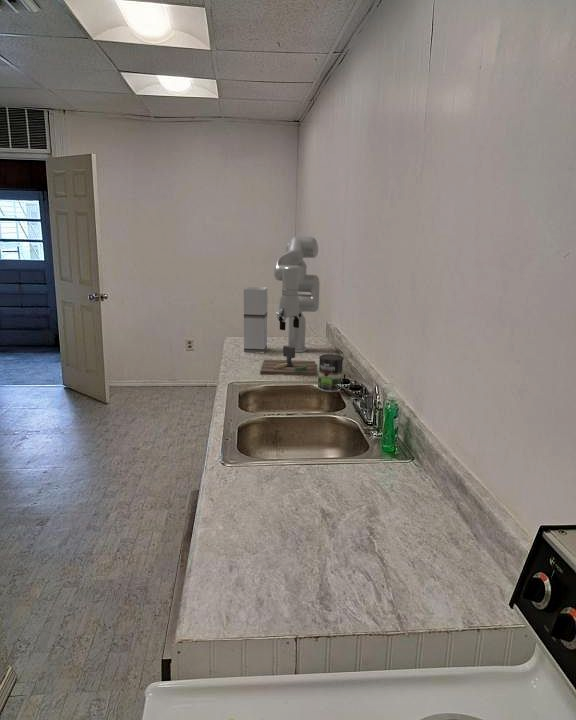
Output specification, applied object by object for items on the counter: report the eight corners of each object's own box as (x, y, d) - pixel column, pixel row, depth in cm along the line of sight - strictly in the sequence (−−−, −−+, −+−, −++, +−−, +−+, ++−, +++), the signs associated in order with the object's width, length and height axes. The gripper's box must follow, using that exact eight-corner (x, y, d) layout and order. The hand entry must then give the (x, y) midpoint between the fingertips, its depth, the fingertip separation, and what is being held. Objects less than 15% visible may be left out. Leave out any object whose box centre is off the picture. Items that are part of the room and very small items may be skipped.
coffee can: (336, 393, 214) (338, 361, 211) (314, 389, 219) (315, 357, 215) (345, 387, 223) (347, 356, 220) (324, 383, 228) (325, 353, 224)
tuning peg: (287, 363, 254) (287, 345, 252) (296, 365, 251) (296, 347, 248) (271, 367, 247) (271, 348, 244) (280, 369, 243) (281, 350, 240)
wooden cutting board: (264, 362, 263) (264, 357, 262) (314, 363, 262) (315, 358, 261) (260, 374, 241) (260, 368, 241) (315, 375, 240) (315, 369, 240)
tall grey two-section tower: (267, 348, 294) (267, 287, 285) (264, 352, 283) (264, 289, 275) (247, 347, 295) (247, 286, 286) (243, 352, 284) (243, 288, 276)
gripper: (296, 291, 251) (295, 325, 255) (271, 293, 239) (271, 329, 242) (307, 292, 246) (306, 327, 250) (283, 294, 234) (282, 331, 238)
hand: (289, 328), depth 246 cm, fingers open, 9 cm apart
